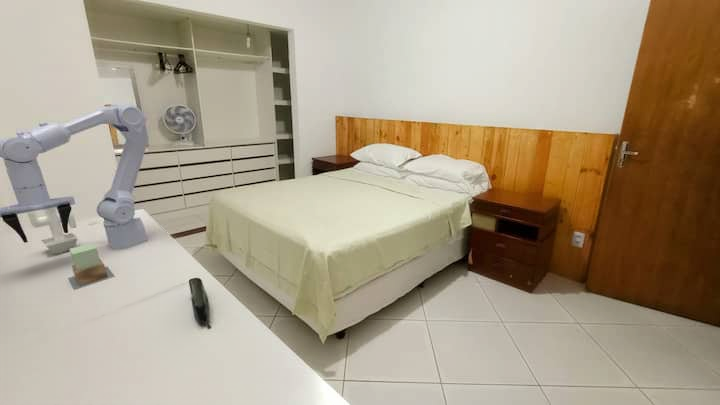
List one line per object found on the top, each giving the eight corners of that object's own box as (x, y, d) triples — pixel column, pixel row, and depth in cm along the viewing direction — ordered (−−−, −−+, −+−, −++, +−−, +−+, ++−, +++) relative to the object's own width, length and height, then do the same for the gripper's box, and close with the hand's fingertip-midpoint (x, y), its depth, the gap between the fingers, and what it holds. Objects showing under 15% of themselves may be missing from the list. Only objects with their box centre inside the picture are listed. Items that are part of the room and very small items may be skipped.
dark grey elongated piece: (186, 278, 73) (193, 310, 61) (200, 274, 74) (210, 305, 62) (189, 296, 74) (198, 332, 62) (203, 292, 76) (214, 326, 64)
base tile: (108, 271, 85) (107, 266, 85) (116, 281, 80) (115, 276, 80) (69, 283, 80) (68, 278, 79) (75, 295, 75) (73, 289, 74)
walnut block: (102, 269, 83) (99, 257, 82) (107, 276, 80) (104, 264, 79) (75, 277, 79) (71, 265, 78) (79, 285, 76) (75, 272, 75)
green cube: (97, 258, 82) (92, 242, 80) (100, 264, 79) (96, 248, 77) (74, 265, 78) (69, 248, 77) (77, 271, 76) (72, 254, 74)
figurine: (85, 247, 99) (71, 202, 95) (44, 259, 92) (27, 210, 88) (79, 241, 104) (66, 198, 99) (39, 252, 97) (23, 206, 92)
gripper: (-15, 195, 70) (6, 250, 74) (70, 183, 81) (85, 232, 85) (-15, 190, 75) (5, 242, 79) (66, 179, 85) (80, 225, 89)
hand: (46, 236), depth 82 cm, fingers open, 7 cm apart
